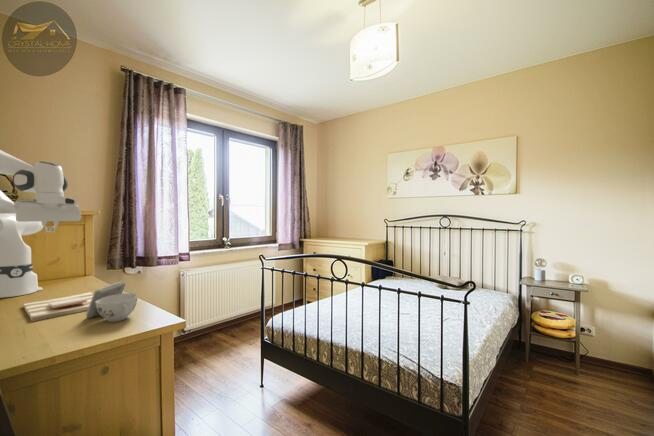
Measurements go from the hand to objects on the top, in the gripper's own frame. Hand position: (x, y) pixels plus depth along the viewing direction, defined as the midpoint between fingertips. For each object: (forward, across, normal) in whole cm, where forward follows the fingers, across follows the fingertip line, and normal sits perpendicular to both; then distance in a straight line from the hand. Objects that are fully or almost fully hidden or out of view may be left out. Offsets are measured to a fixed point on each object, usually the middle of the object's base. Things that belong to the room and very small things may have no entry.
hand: (50, 232), depth 123 cm
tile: (+28, +3, -15) cm, 31 cm away
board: (+31, +3, -10) cm, 33 cm away
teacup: (+31, +12, -45) cm, 56 cm away
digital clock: (+31, +12, -31) cm, 46 cm away
